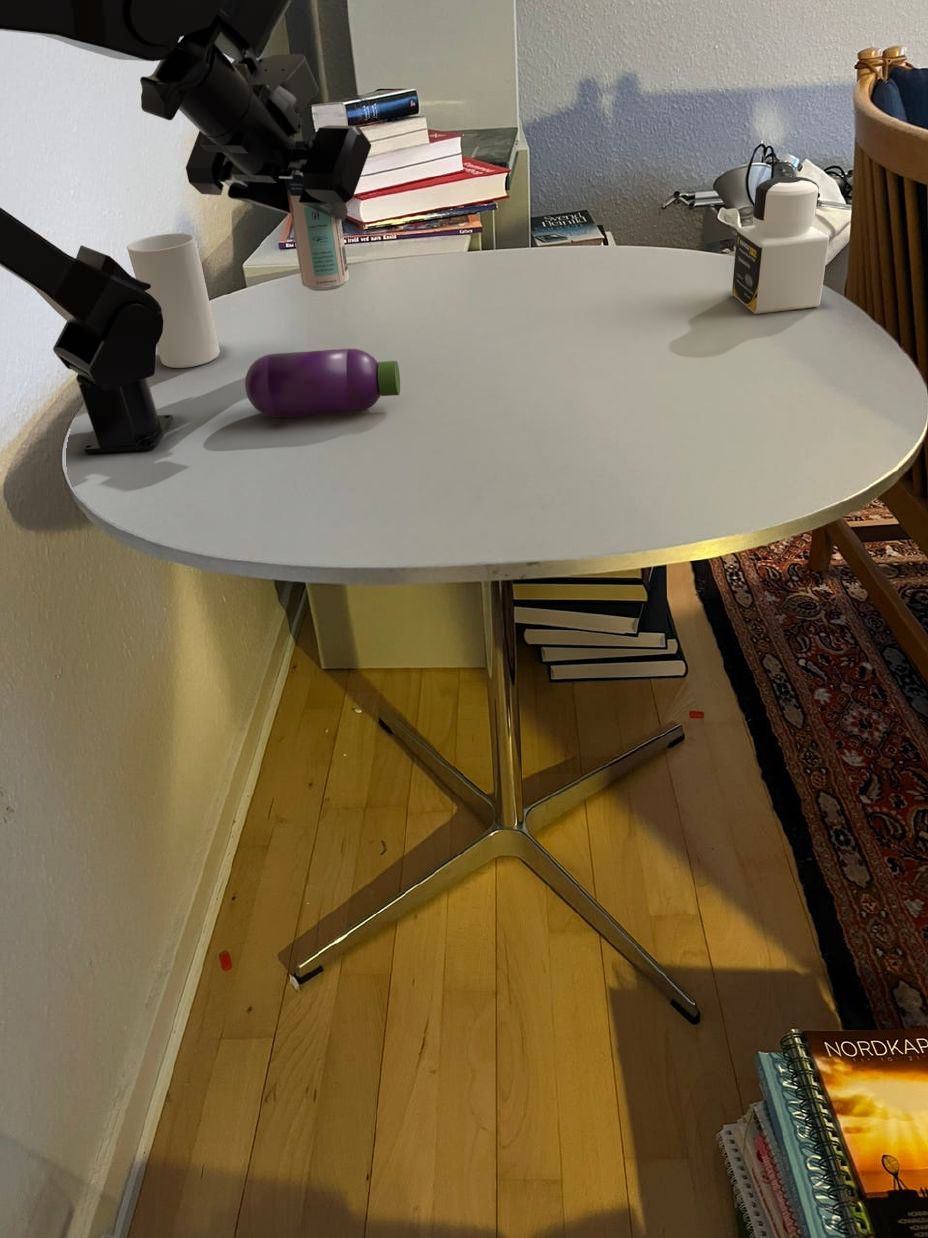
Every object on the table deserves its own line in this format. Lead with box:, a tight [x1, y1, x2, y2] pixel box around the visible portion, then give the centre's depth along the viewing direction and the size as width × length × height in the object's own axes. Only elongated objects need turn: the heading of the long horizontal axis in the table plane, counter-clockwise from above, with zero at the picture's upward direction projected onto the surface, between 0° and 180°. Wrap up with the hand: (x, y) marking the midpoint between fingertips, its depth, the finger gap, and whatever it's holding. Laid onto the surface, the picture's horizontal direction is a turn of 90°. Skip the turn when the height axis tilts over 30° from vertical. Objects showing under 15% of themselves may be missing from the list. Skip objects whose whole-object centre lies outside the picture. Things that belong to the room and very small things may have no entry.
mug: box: [126, 232, 221, 369], centre depth 100 cm, size 10×7×12 cm, turn 5°
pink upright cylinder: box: [285, 170, 350, 292], centre depth 93 cm, size 5×5×12 cm
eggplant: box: [244, 348, 401, 418], centre depth 85 cm, size 6×14×6 cm, turn 88°
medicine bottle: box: [731, 176, 830, 315], centre depth 98 cm, size 7×7×12 cm
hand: (325, 214), depth 94 cm, fingers closed on pink upright cylinder, 5 cm apart
